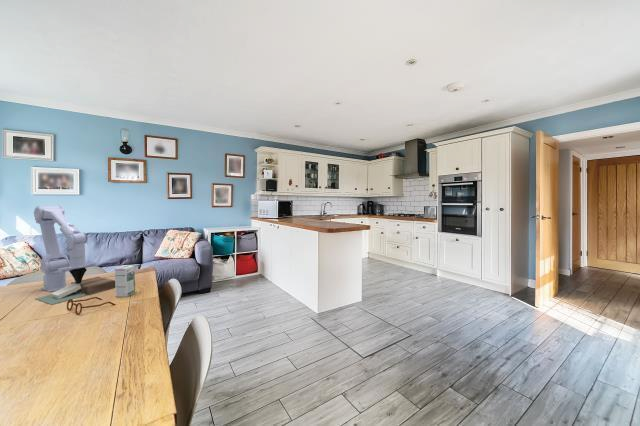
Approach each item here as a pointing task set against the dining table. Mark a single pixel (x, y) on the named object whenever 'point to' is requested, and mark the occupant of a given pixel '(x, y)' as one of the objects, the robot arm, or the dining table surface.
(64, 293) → the flat white box
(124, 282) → the syrup box
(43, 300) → the mat
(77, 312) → the glasses
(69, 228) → the robot arm
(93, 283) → the plate
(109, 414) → the dining table surface
